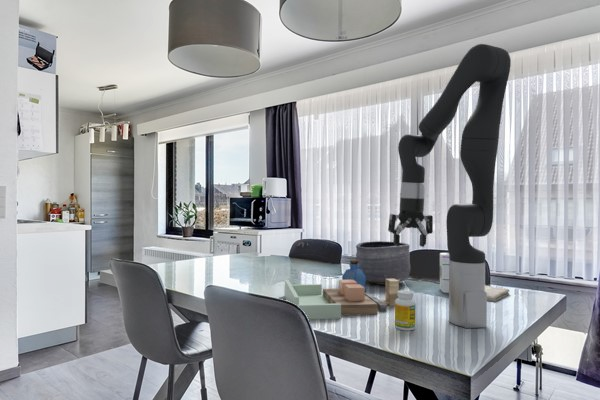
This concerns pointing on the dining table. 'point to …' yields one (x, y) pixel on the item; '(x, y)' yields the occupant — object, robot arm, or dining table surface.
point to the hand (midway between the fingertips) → (409, 246)
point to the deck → (350, 303)
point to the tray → (311, 301)
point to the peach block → (355, 292)
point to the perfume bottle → (355, 274)
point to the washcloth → (495, 293)
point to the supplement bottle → (405, 311)
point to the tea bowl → (383, 261)
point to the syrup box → (444, 272)
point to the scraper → (387, 295)
